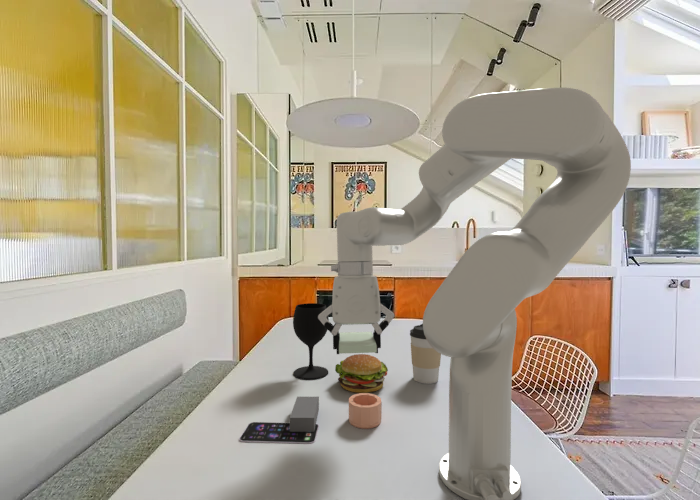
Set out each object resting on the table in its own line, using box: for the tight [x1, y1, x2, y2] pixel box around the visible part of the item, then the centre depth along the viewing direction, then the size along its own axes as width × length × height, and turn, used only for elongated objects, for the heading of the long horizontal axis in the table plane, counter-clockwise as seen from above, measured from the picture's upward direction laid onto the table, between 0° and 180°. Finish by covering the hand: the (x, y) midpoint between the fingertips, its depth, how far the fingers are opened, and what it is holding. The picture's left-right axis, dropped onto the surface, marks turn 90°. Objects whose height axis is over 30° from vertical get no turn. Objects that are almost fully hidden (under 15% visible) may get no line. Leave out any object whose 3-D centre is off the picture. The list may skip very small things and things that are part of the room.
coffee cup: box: [409, 323, 442, 384], centre depth 102 cm, size 9×9×15 cm
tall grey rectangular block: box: [289, 396, 320, 432], centre depth 78 cm, size 10×5×3 cm, turn 179°
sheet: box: [338, 331, 377, 355], centre depth 78 cm, size 12×8×1 cm, turn 1°
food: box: [335, 353, 389, 394], centre depth 98 cm, size 14×14×8 cm
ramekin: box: [348, 392, 383, 430], centre depth 78 cm, size 7×7×4 cm
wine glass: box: [292, 302, 330, 381], centre depth 106 cm, size 10×10×20 cm
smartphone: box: [239, 421, 320, 445], centre depth 73 cm, size 8×1×15 cm
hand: (357, 351), depth 78 cm, fingers closed on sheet, 7 cm apart
